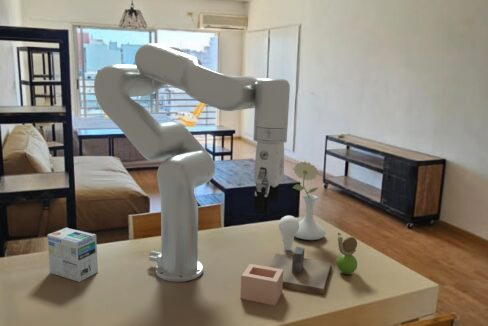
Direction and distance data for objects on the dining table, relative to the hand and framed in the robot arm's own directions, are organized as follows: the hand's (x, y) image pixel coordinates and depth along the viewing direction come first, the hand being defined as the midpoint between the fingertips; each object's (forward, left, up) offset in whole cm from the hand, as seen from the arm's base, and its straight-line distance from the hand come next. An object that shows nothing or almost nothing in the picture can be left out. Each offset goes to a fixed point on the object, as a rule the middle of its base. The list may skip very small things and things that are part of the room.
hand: (266, 207), depth 102 cm
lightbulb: (0, +29, -22) cm, 36 cm away
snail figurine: (+18, +20, -22) cm, 35 cm away
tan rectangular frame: (0, 0, -22) cm, 22 cm away
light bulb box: (-49, -7, -23) cm, 55 cm away
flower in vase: (+3, +43, -22) cm, 48 cm away
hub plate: (+6, +14, -22) cm, 27 cm away
